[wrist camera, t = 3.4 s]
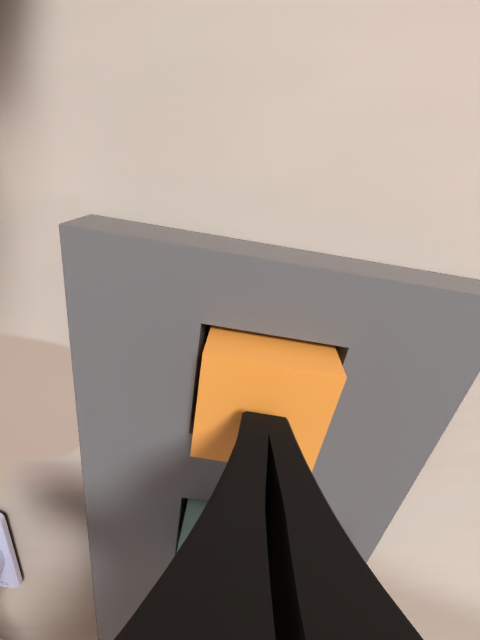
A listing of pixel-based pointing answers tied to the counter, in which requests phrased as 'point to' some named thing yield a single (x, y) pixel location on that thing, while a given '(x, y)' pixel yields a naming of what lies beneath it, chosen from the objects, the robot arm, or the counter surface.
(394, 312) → the button panel
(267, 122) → the counter surface
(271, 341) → the orange button
